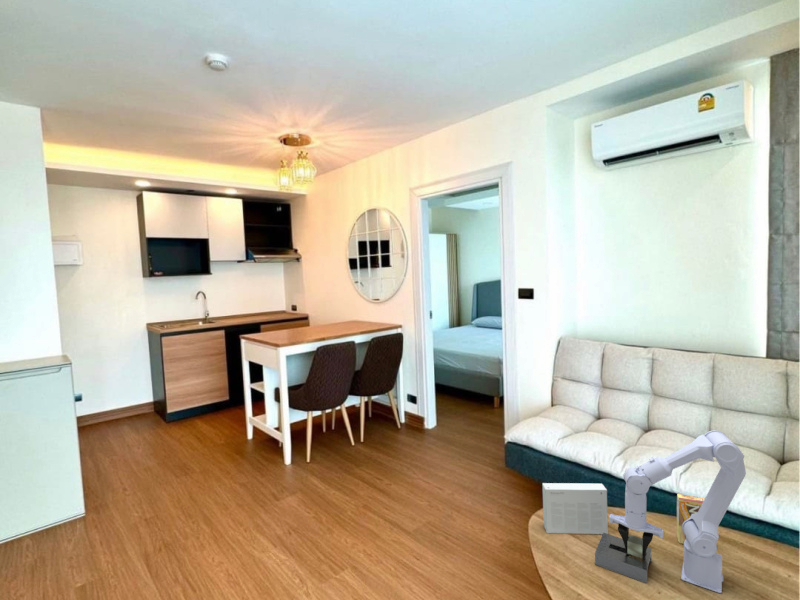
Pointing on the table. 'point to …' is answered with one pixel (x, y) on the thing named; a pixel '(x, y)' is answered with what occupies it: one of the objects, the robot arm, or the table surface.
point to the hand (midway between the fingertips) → (635, 551)
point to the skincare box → (575, 508)
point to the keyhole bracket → (621, 558)
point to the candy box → (686, 512)
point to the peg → (635, 547)
